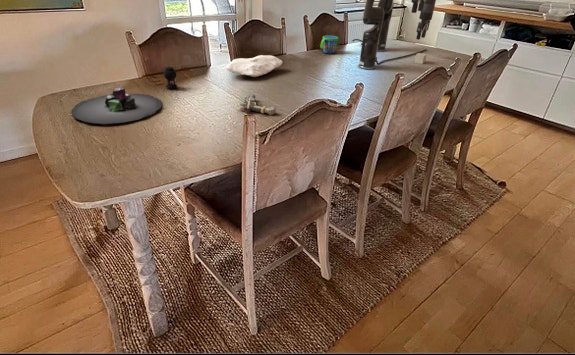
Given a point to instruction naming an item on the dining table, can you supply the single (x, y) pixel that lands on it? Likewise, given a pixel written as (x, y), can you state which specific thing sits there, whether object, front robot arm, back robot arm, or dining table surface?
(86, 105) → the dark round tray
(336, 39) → the snack cup
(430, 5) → the back robot arm
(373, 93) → the dining table surface
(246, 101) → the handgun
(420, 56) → the block
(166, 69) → the gumball machine
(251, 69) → the crumpled cloth
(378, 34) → the front robot arm
